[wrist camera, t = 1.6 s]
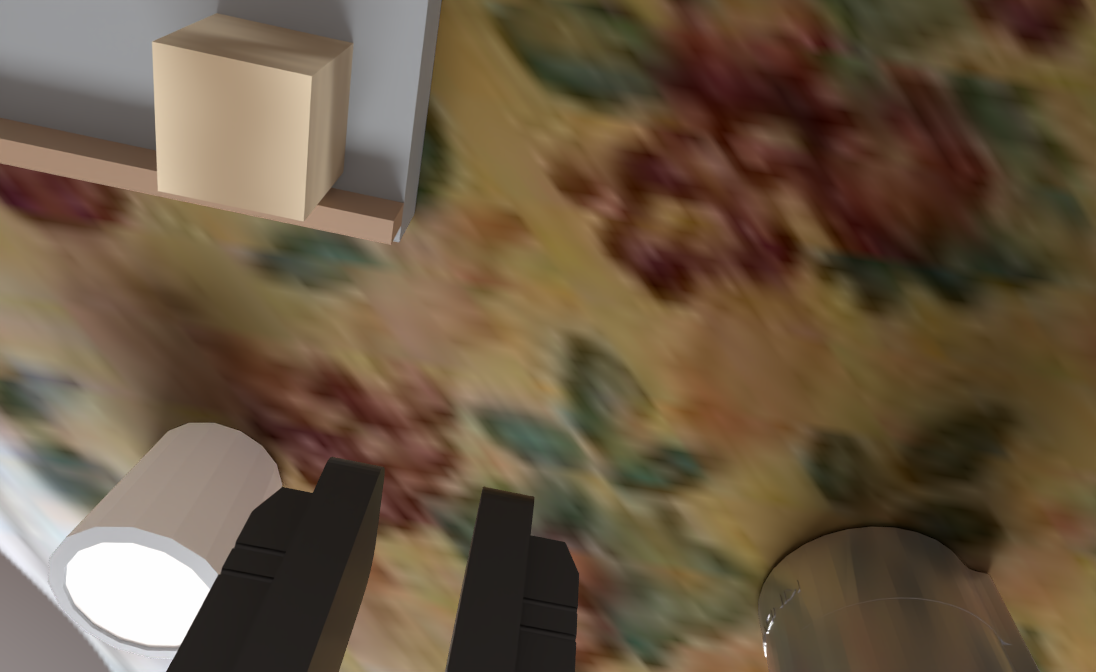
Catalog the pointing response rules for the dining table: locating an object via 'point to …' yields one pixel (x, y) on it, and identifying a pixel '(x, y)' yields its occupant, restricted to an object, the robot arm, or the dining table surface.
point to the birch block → (250, 114)
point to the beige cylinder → (161, 538)
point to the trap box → (129, 112)
